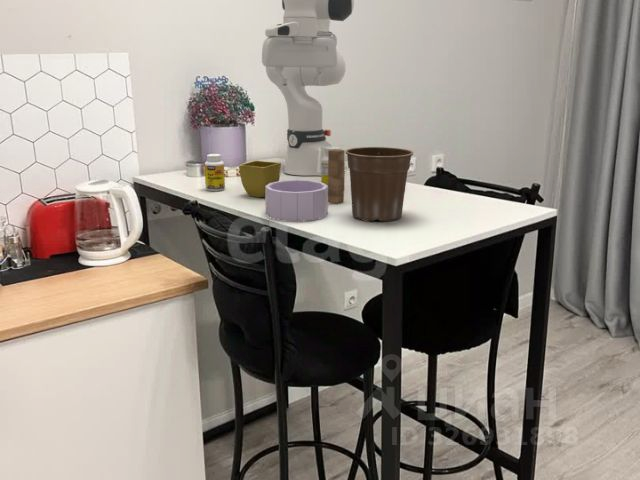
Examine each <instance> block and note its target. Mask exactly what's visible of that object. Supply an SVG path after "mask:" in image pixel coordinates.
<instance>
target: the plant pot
mask: <svg viewBox="0 0 640 480" xmlns="http://www.w3.org/2000/svg"><path fill="white" fill-rule="evenodd" d="M345 154H346V156H347V157H346V158H347V169H349V177H350V181H349V182H350V196H351V198H350V199H351V214H352V217H354V218H356V219H359V220H362V221H369V222H374V221H376V220H378V221H380V222H392V221H397V220H399V219H401V218H402V214H403V208H404V207H403V206H404V201H405V191H406V187H407V178H408V173H409V172H408V171H409V170H410V167H411V159H412V156H413V155H414V151H412V150H409V149H406V148H400V147H399V148H398V147H389V146H386V147H384V146H365V147H364V146H363V147H361V146H360V147H351V148H348V149H346V150H345Z"/></svg>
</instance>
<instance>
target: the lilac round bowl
mask: <svg viewBox="0 0 640 480" xmlns="http://www.w3.org/2000/svg"><path fill="white" fill-rule="evenodd" d="M264 198H265V200H264V201H265V215H266V214H267V215H268V216H269V217H271V218H270V219H272V218H275V219H274V220H276V219H279V220H278V221H280V220H286V221H285V222H294V221H300V222H304V221H303V220H313V221H315V219H317V220H319V218H320V219H323V218H324V219H325V217H326V216H327V215H329V203H328V186H327V185H326V184H324V183H321V181H316V180H315V181H314V180H305V179H304V180H300V179H290V180H287V179H286V180H279V181H278V182H273V183H269V184H268V185H266V186H265V197H264ZM267 215H266V216H267ZM268 216H267V217H268ZM269 217H268V218H269Z"/></svg>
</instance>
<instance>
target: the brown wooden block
mask: <svg viewBox="0 0 640 480" xmlns="http://www.w3.org/2000/svg"><path fill="white" fill-rule="evenodd" d="M345 151H346V150H345V149H341V150H339V149H334V150H328V204H329V203H330V204H335V205H339V204H343V203H345V187H344V160H345V154H346V152H345Z"/></svg>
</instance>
